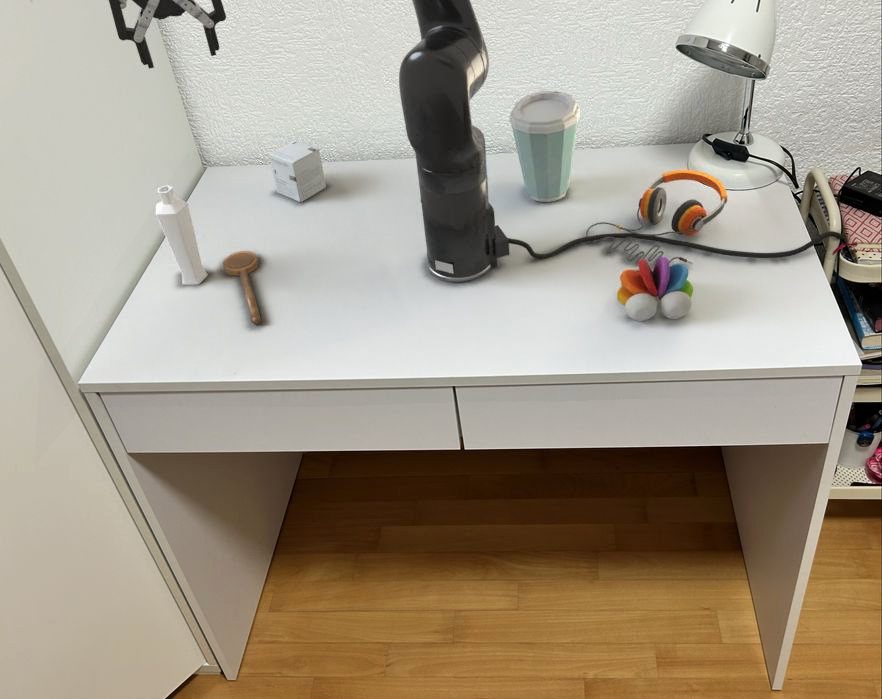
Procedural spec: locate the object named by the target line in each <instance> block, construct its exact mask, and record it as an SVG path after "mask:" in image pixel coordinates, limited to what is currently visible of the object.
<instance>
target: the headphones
mask: <svg viewBox="0 0 882 699" xmlns="http://www.w3.org/2000/svg"><path fill="white" fill-rule="evenodd" d="M674 181H693V182H698V183H701V184H704V185H706V186H708V187H710V188H712V189H713V190H714V191H716V192H717V194H718V195H719V197H720V203H719V205H718V206H717V207H716V208H715V209H713V211H711V212H710V213H709V214H707V211H706V209H705V208H704V206H703V203H701V202H700V201H698V200H697V199H695V198H694V199H688V200H686V201H684V202H683V203H682V204H680V206H678V207H677V209H676V210H675V212H674V214H673V215H672V218H671V222H670V227H671V230H672V231H666V232H662V233H642V232H641V233H640V232H637V231H640V230H642V229H643V228H644V224H643V223H642V220H641V218H642V219H644V220H646V221H648V222H649V223H650V224H653V225H657V224H658V223H660V222H661V220H662V219H663V217H664V214H665V212H666V206H667V201H668V200H667V199H668V198H667V192H666V190H665V188H664V187H660V186H659V185H662V184H667V183H671V182H674ZM727 202H728V194H727V190H726V187H725V185H724V184H723V183H722V182H721V181H720V180H719V179H718V178H717V177H714V176H713V175H711V174H708V173H705V172H703V171H699V170H693V169H676V170H670V171H667V172H664V173H662V174H661V176H659V177H657V178H656V179H654V180H653V181H652V182H651V183H650V184H649V186H648V187H647V189H646V190H645V192H644V193H643V194H642V197H640V199H639V201H638V209H637V212H636V218H637V221H638V222H639V223H640V227H639V228H635V229H634V228H633V229H632V228H626V227H623V226H621V225H619V224H614V223H611V222H605V221H603V222H602V221H601V222H596V223H593V224H591V225H589V227H588V228H587V229H586V232H585V237H588V236H589V235H588V233H589V230H590V229H591V228H593V227H596V226H597V225H609V226H612V227H614V228H616V229H618V230H622V231H625V232H626V233H633V234H638V235H644V236H659V237H660V236H664V235H667V234H668V235H669V234H677V235H681V236H682V235H683V236H687V237H690V236H691V237H692V236H694V235H695V234H697V233H699V231H701V230H702V228H703V227H705V225H707V224H708V223H710V222H711V221H713V220H714V219H715V218H716V217H717V216H718V215H720V214H721V212H723V209H724V208H725V206H726V204H727ZM639 213H640V214H639ZM639 215H640V216H641V218H640V216H639ZM608 238H612V239H611V240H613V241H612V243H611V244H610V246H609V247H608V248H607V250H606V253H607V254H611V253H613V252H614V251H615V250H616V249H617V248H618V247H619V246H621V245H622V244H623V243H624V242H625V241H627V240H631V241H630V242H629V243H628V244H627V245H625V247H624V248H623V251H625V252H629V251H632V252H630V254H628V256H627V258H626V260H627V261H628V262H632V261H634V260H635V259H636V258H637V259H636V260H635V263H636V264H638V262H639V260H641V259H645V258H646V257H647V255H649V254H650V253H651V252H652V250H654V249H655V248H656V247H657V248H656V249H655V250H654V251H653V252H652V253H651V254H650V255H649V257H648V258H647V262H652V261H653V260H654V259H655V258H656V257H657V256H658V255H659V256H658V257H657V258H656V259H655V260H654V262H653V267H654V266H655V264H656V261H657V260H658V258H660V257H663V255H664V251H662V250H660V248H661V246H660V245H659V244H654V245H653V246H652V247H650V249H649V250H648V251H646V254H645V251H642V250H641V251H639V252H638V253H637V254H635V252H636V251H637V250H638V249H639V248H640V244H639V243H635V244H634V245H632V246H631V247H630V248H628V247H629V246H630V245H631V244H632V243H634V238H632V237H627V238H623V240H621V241H620V242H619V243H618V244H617V245H615V246H614V244H615V243H616V238H614V237H605V238H602V239H599V240H595V241H589V243H598V242H601V241H604V240H609V239H608ZM613 246H614V247H613ZM612 247H613V248H612ZM659 250H660V251H659ZM633 254H635V255H634V256H633V257H632V258H630V257H631V256H632V255H633ZM639 255H640V256H639ZM638 256H639V257H638ZM677 259H678V260H679V261H681V262H683V263H687V264H690V265H693V263H694V262H692V261H690V260H688V259H687V258H684V257H682V256H674V257H672V258H671V259H670V260H669V264H671V263H672V262H673V261H674V260H677Z"/></svg>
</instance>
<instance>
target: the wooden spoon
mask: <svg viewBox="0 0 882 699" xmlns="http://www.w3.org/2000/svg"><path fill="white" fill-rule="evenodd" d="M259 262H260V261H259V257H258V255H257V254H256V253H255V252H254V251H253V252H252V251H249V250H242V251H241V250H239V251H236V252H233V253H231V254H230V255H227V257H225V258H224V259H223V261H222V267H223V270H224V273H226V274H227V275H229V276H236V277H237V276H239V277H240V281H241V285H242V289H243V292H244V296H245V300H246V303H247V307H248V311H249V314H250V319H251V322H252V324H254V325H260V324H261V322H262V318H261V315H260V314H261V313H260V312H259V308H258V304H257V300H256V297H255V293H254V289H253V286H252V282H251V279H250V276H249V274H250V273H251V272H253V271H254V270H256V269H257V268H258V266H259Z"/></svg>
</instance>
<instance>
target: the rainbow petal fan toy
mask: <svg viewBox="0 0 882 699" xmlns="http://www.w3.org/2000/svg"><path fill="white" fill-rule="evenodd" d="M657 258H658V257H657ZM669 261H670V260H669V258H667V257H665V256H661V257H660V258H658V260H657V261H656V263H655V266H654V265H653V270H652V268H651V265H650V264H649V263H648V262H649V261H648V260H646V259H645V258H644V259H642V258H640V259H639V260H638V263H637V266H638V267H631V268H629V269H625V270H623V271H622V272H621V273H620V276H619V280H620V287H619V288H618V290H617V292H616V298H617V301H618V303H620V304H621V305H622V306H624V307H625V308H624V309H625V312H626V314H627V315H628V317H630V318H631V319H633V320H634V321H638V322H644V321H648V320H649V319H652V318H653V317H654V315H655V314H656V313H657V310H658V309H659V311H660V312H661V314H662V315H663V316H664V317H666V318H668V319H671V320H678V319H681V318H683V317H685V316H686V315H687V314H688V313H689V311H690V310H691V307H692V299H691V297H692V295H693V294H694V286H693V284H692V282H691V281H689V279H688V277H689V268H688V266H686V265H685V264H684V263H674V264H671V263H669ZM657 297H658V300H659V303H658V301H657V299H656V298H657Z"/></svg>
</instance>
